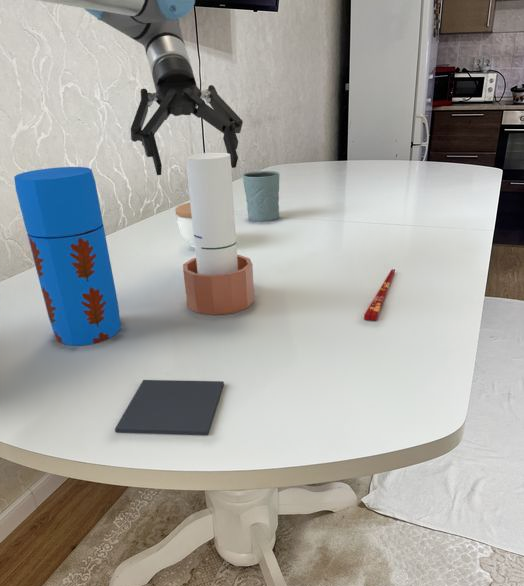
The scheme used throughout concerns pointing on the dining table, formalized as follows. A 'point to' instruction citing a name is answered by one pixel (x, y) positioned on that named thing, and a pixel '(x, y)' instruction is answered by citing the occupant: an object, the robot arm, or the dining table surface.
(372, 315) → the chopstick
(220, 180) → the cylindrical container
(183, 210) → the lidded bowl
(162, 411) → the mat
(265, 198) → the grey-green textured cup
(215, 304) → the crock
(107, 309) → the thermos
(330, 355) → the dining table surface
